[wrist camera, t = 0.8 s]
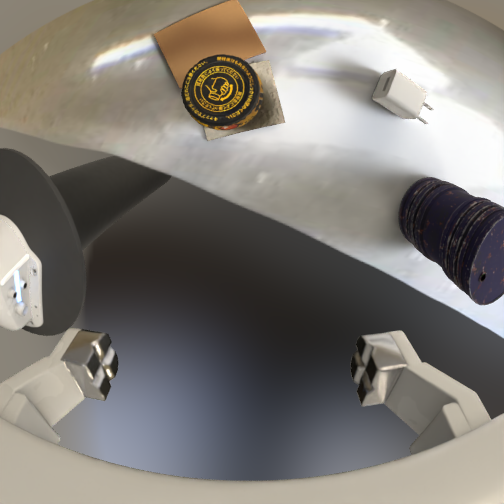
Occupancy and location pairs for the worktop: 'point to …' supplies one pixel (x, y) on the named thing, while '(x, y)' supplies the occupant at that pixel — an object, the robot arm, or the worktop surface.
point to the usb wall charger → (400, 95)
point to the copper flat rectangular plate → (208, 38)
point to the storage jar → (457, 235)
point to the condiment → (231, 95)
